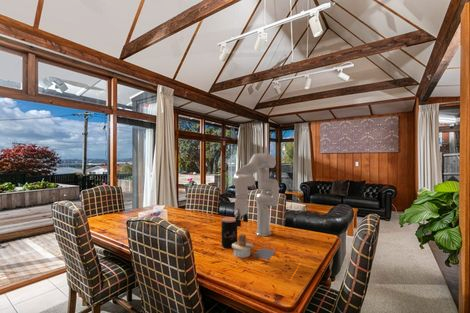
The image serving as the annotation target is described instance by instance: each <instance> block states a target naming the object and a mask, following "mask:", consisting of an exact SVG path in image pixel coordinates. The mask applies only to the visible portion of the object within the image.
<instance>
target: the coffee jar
mask: <svg viewBox="0 0 470 313" xmlns="http://www.w3.org/2000/svg"><path fill="white" fill-rule="evenodd" d="M235 242H238V226H236V220H235V216H234V217H233V216H228V217H227V216H226V217H223V218H221V246H222V248H225V249H233V248H232V244H233V243H235Z"/></svg>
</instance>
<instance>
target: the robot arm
mask: <svg viewBox="0 0 470 313" xmlns="http://www.w3.org/2000/svg"><path fill="white" fill-rule="evenodd" d="M276 164H277V161H276V157H274V156H273V155H272V154H270V153H265V152H263V153H261V152H260V153H254V154H253V155H252V156H251V157H250V160H249V161H248V163H247V164H245V165H244V166H241V167H240V168H238V169H237V170H236V171H235V173H234V175H233V178H232V183H233V185H234V187H235V188H234V190H235V199H234V213H233V214H234V218H235V220H236V226H237V228H238V227H241V226H242V222H244V223H248V222H249V210H250V207H249V202H248V199H249V197H248V196H249V195H248V194H249V193H248V192H249V190H248V189H249V188H248V187H253V186H254V185H255V184H256V178H255V176H254V174H256V173H258V174H257V176H258V177H257V179H258V182H257V188H258V190H259V191H261V192H259V193H257V194H256V196H255V202H256V209H257V210H256V211H257V212H256V213H257V214H256V216H257V217H256V223H257V224H256V225H257V227H256V228H257V229H256V231H255V235H257V236H260V237H266V236H267V237H268V236H271V235H272V231H271V230H270V228H271V225H270V209H269V207H277V206H278V205H279V198H280V197H279V196H280V195H279V194H280V192H279V188H280V186H279V185H280V184H279V181H278V180H277V179H274V178H273V179H272V178H270V172H269V170H268V169H273V168H275V167H276ZM268 206H269V207H268ZM241 218H242V221H241Z"/></svg>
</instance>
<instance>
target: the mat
mask: <svg viewBox="0 0 470 313" xmlns="http://www.w3.org/2000/svg"><path fill="white" fill-rule="evenodd" d="M276 252H277V251H276V250H274V249H268V248H264V247H263V248H262V247H261V248H259V249H258V251H256V252H255V253H254V254H253V255H252V257H255V258H260V259H263V260H270V259H271V257H273V255H274V254H275V253H276Z"/></svg>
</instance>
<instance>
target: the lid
mask: <svg viewBox="0 0 470 313" xmlns="http://www.w3.org/2000/svg"><path fill="white" fill-rule="evenodd" d="M246 237H247V234H243V233H241V234H240V235H238V240H237V242H235V243H233V244H232V248H231V249H232V250H233V251H234V250H237V251H248V250H250V251H251V250H252V249H254V244H253V243H252V242H250V241H247V238H246Z"/></svg>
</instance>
